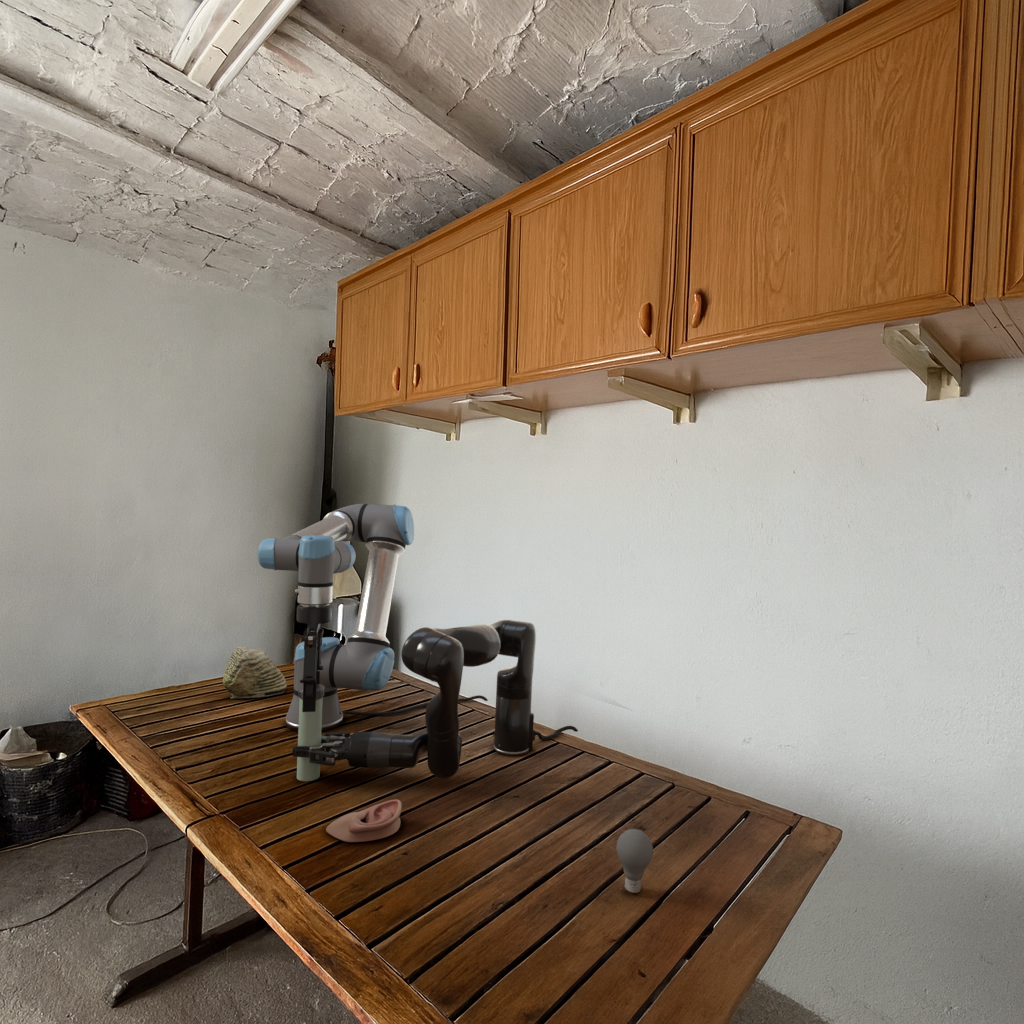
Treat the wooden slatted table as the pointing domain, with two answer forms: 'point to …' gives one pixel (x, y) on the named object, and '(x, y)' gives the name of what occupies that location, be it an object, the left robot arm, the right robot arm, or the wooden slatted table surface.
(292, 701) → the left robot arm
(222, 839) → the wooden slatted table surface
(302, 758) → the pale green cylinder
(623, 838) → the light bulb
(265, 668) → the fossil
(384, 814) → the anatomical model
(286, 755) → the wooden slatted table surface
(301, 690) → the lid
